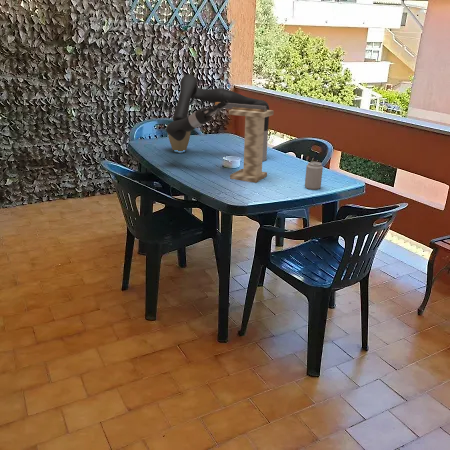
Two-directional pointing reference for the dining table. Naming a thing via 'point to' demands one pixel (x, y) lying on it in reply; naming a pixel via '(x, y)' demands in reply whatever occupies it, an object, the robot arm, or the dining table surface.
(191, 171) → the dining table surface
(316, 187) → the can
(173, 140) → the plant pot
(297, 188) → the dining table surface
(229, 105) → the bar
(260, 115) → the stand
